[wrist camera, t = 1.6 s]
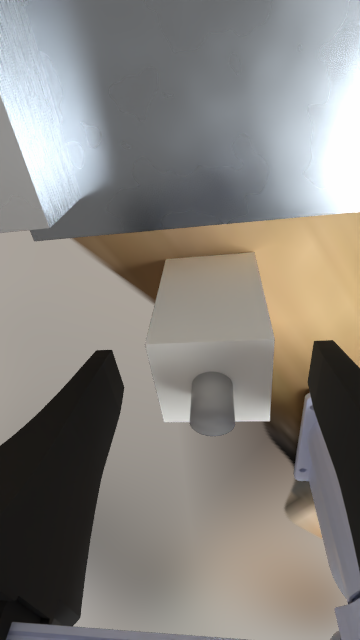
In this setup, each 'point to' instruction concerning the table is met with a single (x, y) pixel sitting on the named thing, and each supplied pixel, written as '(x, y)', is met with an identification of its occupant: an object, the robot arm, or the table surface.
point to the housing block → (212, 343)
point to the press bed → (176, 113)
